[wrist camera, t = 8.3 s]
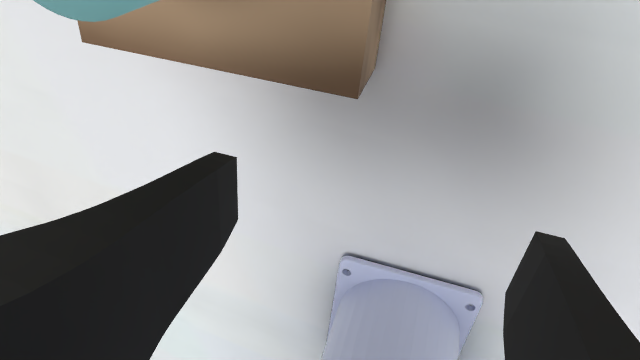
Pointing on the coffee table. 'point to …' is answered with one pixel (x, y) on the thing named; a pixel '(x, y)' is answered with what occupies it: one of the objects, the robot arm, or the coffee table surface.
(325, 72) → the walnut block
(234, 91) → the coffee table surface
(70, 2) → the teal tin
